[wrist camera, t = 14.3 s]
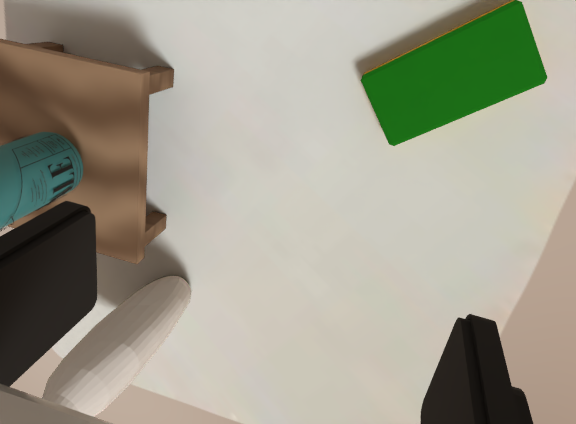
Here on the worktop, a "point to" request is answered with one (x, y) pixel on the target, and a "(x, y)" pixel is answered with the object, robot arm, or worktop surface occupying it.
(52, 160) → the beverage bottle
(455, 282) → the worktop surface
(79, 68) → the footstool
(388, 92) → the dish sponge
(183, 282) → the soap bottle
